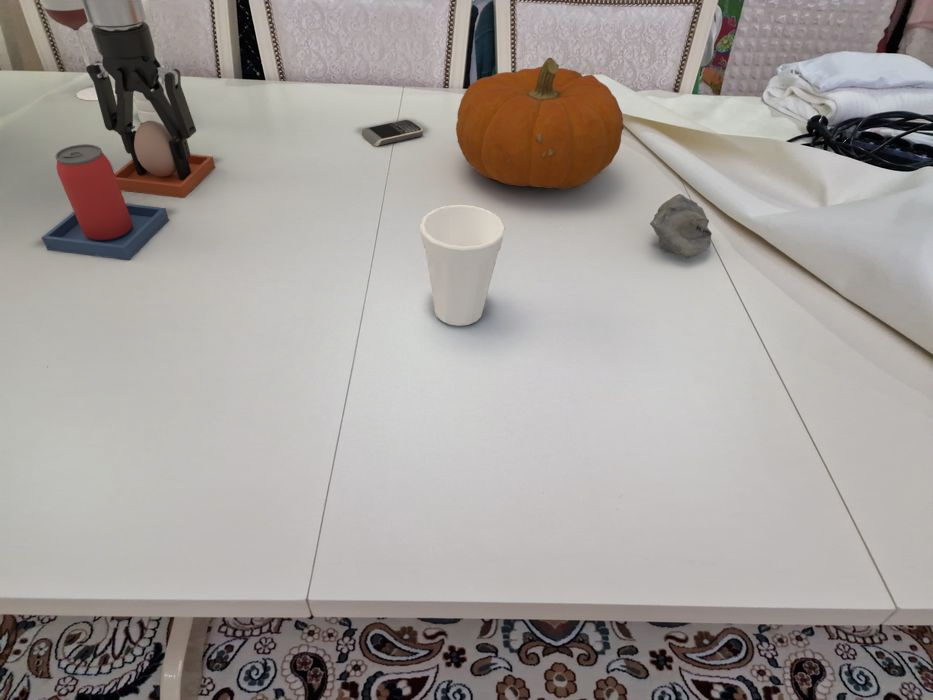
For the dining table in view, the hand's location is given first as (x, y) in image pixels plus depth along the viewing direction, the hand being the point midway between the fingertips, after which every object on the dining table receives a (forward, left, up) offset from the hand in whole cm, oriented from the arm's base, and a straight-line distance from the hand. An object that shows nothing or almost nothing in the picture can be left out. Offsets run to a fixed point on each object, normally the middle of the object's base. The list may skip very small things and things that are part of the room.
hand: (164, 173), depth 103 cm
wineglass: (-32, +32, -1) cm, 45 cm away
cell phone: (+33, +26, -1) cm, 42 cm away
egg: (0, 0, 0) cm, 0 cm away
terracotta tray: (0, 0, -1) cm, 1 cm away
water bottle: (-12, +22, -1) cm, 25 cm away
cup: (+54, -26, -1) cm, 60 cm away
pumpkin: (+61, +16, -1) cm, 63 cm away
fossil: (+84, -4, -1) cm, 84 cm away
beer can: (+1, -18, 0) cm, 18 cm away
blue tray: (+1, -18, -1) cm, 18 cm away
